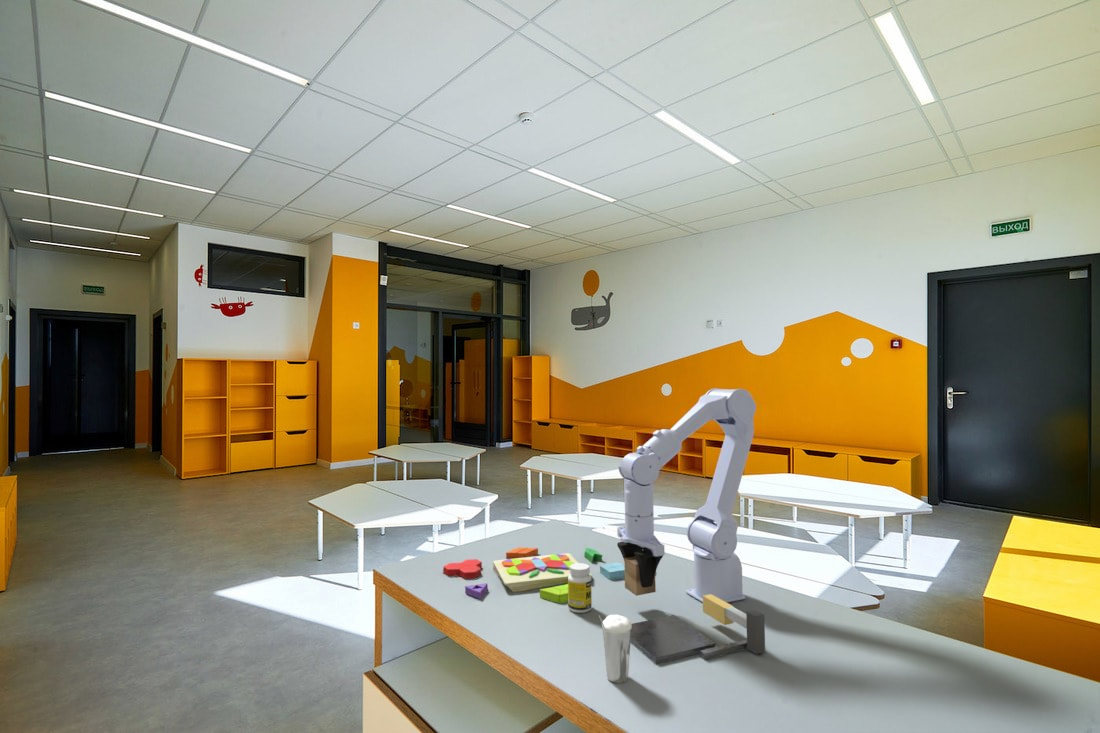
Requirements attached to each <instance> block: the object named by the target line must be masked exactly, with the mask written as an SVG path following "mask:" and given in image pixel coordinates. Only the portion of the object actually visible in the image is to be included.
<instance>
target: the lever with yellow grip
mask: <svg viewBox="0 0 1100 733" xmlns="http://www.w3.org/2000/svg"><path fill="white" fill-rule="evenodd" d="M702 613H704V614H705V615H707V616H709V617H710V618H712V619H713V620H716V621H717V622H719V623H721V624H722V625H724V626H727V625H732V624H734V623H736V624H737V625H739V626H740V627H743V628H744V629H746V639H747V649H746V650H748V651H750V652H752V653H754V654H755V655H757V654H761V653H764V652H766V632H765V630H766V628H765V626H766V625H765V620H766V619H765V613H762V612H761V611H759V610H756V609H754V610H748V611H746V612H743V611H742V610H740V609H738V608H736V607H734V606H733V605H732V604H730V603H729V602H728V603H726V602H725V601H723V600H721V599H719V598H717V597H716V596H714V595H712V594H709V595H704V596H703V602H702Z"/></svg>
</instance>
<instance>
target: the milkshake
mask: <svg viewBox="0 0 1100 733" xmlns="http://www.w3.org/2000/svg"><path fill="white" fill-rule="evenodd" d="M598 617H599V620H600V622H601V628H602V635H603V644H604V646H603V647H604V656H605V668H606V669H605V670H606V677H607V680H608V681H609V682H612V683H614V684H615V683H616V684H622V683H626V682H627V681H628V679H629V671H630V670H629V669H630V657H631V656H630V655H631V642H630V641H631V630H632V624H633V623H632V622H631V621H630V619H628V617H626V616H622V615H621V614H620V615H619V614H610V615H607V616H606V617H605V618H604V619H602V618H601V615H598Z"/></svg>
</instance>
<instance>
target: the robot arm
mask: <svg viewBox="0 0 1100 733" xmlns="http://www.w3.org/2000/svg"><path fill="white" fill-rule="evenodd" d="M756 409H757V404H756V402H755V400H754V398H753V396H752V394H751V393H750V392H749V391H748V390H746V389H743V388H737V389H735V388H734V389H732V388H731V389H725V388H716V387H714V388H711V389H709V390H708V391H707V392H706V393H705V394H703V395H701V396H700V397H699V399H698V402H696V404H694V405H693V407H691V408H690V410H688V411H687V413H685V414H684V415H683V417H681V418H680V419H679V420H678V421H677V422H676V423H675V424H674V425H673V426H672V427H671V428H670V429H666V428H661V429H660V430H657V429H656V430H655V431H653V432H652V435H653V436H652V437H651V438H649V439H648V441H646V442H645V443H644V444H642V445H639V446H638V447H637V448H636V452H629V453H628V454H626V455H624V457H623V458H622V459H621V460H622V461H621V462H620V465H619V466H618V472H619V474H620V476H621V477H622V479H623V484H624V487H623V488H624V526H619V527H616V528H617V530H616V531H617V532H616V533H617V537H618V538H620V541H619V542H617V548H618V549H619V551H620V553H621V556H622V559H623V560H624V558H627V557H633V556H635V557H636V559H637V562H638V566H639V571H640V581H641V585H642V587H643V588H645V587H650V586H652V585H653V581H654V577H655V578H656V576H655V573H656V574H657V569H658V566H659V564H660V562H661V560H662V558H664V556H665V544H663V543H661V541H659V539H658V538H657V537H656V535H655V528H654V526H655V522H654V521H655V520H654V517H655V516H654V482H656V480H657V479H658V477H659V474H660V471H661V469H662V468H663V467H664V466H665V465H666V464H667V463H668V462H670V461H671V460H672V459H673V458H674V457H675V456H676V455H678V454H679V453H680V452H681V450H682V444H683V443H682V442H683V441H685V440H686V439H687V438H689V437H690V436H691V435H692V434H694V433H695V432H696V431H698V430H699V429H700V428H702V427H703V426H705V424H706V423H708V422H709V421H714V422H716V423H717V425H719V426H720V428H721V429H722V431H723V433H724V434H725V435H724V440H723V443H722V445H721V449H720V452H719V456H718V460H717V462H716V466H715V467H716V468H715V470H714V474H713V477H712V481H711V484H710V487H709V491H708V494H707V498H706V502H705V504H703V505H702V506H701V507H700V508H698V509H696V511H695V514H694V516H693V518H692V520H691V521H690V522H689V524H688V526H687V528H686V537H687V540H688V541H689V543H690V544H692V551H693V564H694V565H693V566H694V567H693V570H694V572H693V573H694V575H693V576H694V578H693V579H694V580H693V582H694V588H689V589H686V590H685V593H686V594H687V595H689V596H690V597H691V596H692V597H693V598H694V599H696V600H698V601H700V602H702V603H703V596H704V595H709V594H712V595H714V596H716V597H717V598H719V599H721V600H723V601H725V602H726V603H728V604H729V603H731V602H737V601H741V600H745V599H746V596H745V595H743V566H742V563H741V560H740V558H739V556H738V555H737V553H736V552H735V551H736V549H737V546H738V539H737V533H738V528H739V525H738V523H737V521H736V518H735V517H734V515H733V510H734V507H735V503H736V499H737V496H738V491H739V488H740V485H741V482H742V477H743V473H744V470H745V466H746V463H747V459H748V456H749V452H750V449H751V445H752V442H753V438H754V436H755V435H754V433H755V429H754V425H755V424H754V416H755V413H756Z"/></svg>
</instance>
